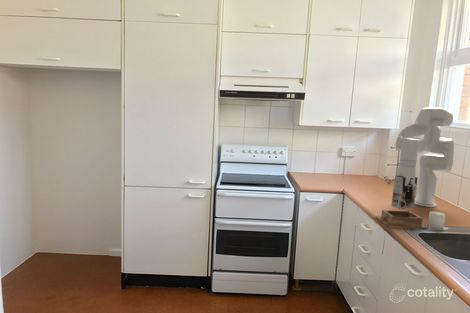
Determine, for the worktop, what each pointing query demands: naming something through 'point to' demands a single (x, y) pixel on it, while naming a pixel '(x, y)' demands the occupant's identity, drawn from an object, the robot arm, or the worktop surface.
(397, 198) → the coffee box
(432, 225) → the white rounded cylinder
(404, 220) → the tray
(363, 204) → the worktop surface
